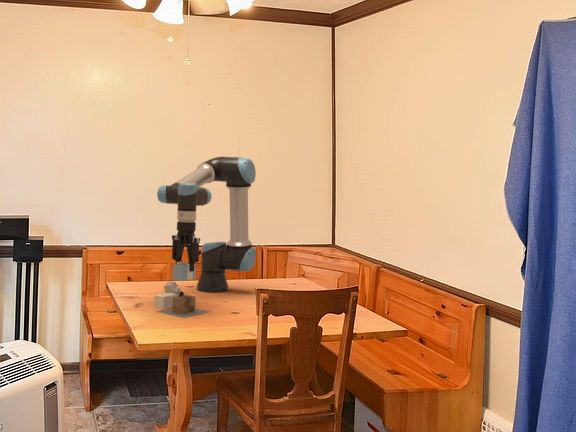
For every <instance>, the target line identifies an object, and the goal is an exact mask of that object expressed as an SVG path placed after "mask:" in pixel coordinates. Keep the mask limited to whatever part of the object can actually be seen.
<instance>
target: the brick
mask: <svg viewBox="0 0 576 432" xmlns="http://www.w3.org/2000/svg"><path fill="white" fill-rule="evenodd" d="M173 297H177V294H173V293H165V292H164V293H159V294H155V295H154V308H156V309H157V308H158V309H161V310H165V309H169V308H172V304H173Z"/></svg>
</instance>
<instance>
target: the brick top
mask: <svg viewBox="0 0 576 432" xmlns="http://www.w3.org/2000/svg"><path fill="white" fill-rule="evenodd" d="M187 264H188V262H185V263H183V264H177V265H176V264H173V266H172V280H173V281H179V282H185V281H188V280H187ZM196 273H197V264H196V263H195V264H194V271H193V279H190V280H189V281H191V280H196V277H197V274H196Z"/></svg>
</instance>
